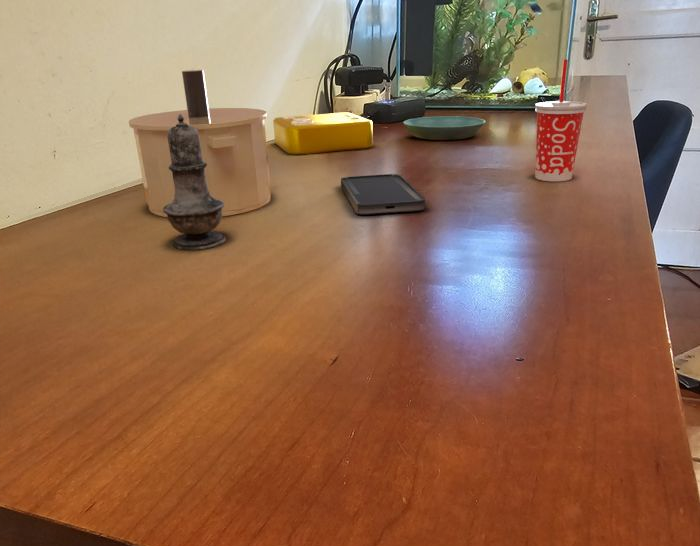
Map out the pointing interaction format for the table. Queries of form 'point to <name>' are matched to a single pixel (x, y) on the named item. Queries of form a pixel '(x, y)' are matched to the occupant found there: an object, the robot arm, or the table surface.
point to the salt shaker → (191, 192)
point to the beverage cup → (557, 136)
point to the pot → (211, 167)
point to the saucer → (444, 127)
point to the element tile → (323, 133)
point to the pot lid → (198, 110)
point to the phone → (381, 194)
